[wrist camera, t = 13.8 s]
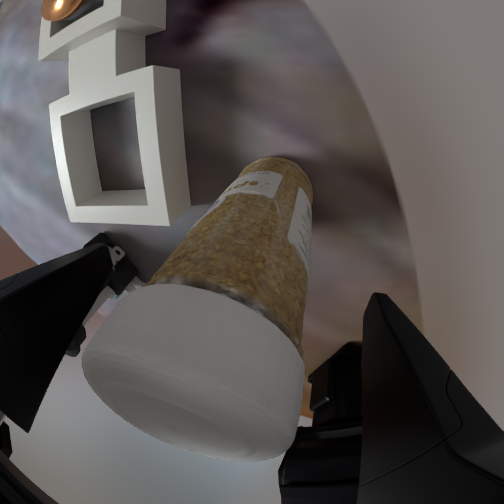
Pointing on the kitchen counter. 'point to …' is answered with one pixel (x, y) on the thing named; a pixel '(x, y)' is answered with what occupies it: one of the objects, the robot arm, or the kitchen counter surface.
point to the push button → (108, 286)
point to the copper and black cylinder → (68, 9)
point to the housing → (110, 91)
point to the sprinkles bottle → (218, 326)
